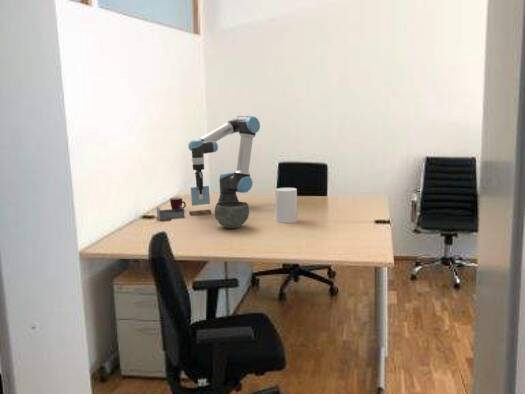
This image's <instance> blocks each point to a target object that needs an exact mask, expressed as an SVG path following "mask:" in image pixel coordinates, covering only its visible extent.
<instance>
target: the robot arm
mask: <svg viewBox="0 0 525 394" xmlns="http://www.w3.org/2000/svg"><path fill="white" fill-rule="evenodd" d="M260 129H261V124H260V120H259V119H258V118H257V117H256V116H254V115H253V116H252V115H238V116H237V115H236V116H235V117H232V118H231V119H229V120H227V121H225V122H224V123H223V125H221V126H219V127H217V128H216V129H214V130H212V131H210V132H209V133H207V134H204V135H203V136H201V137H200V138H198V139H194V140H191V141H189V143H188V145H187V146H188V150H189V151H190V152H191V157H192V158H191V161H192V170H193V171H195V172H194V174H195V185H196V186H195V187H198V194H199V199H203V191H202V189H203V186H204V175H203V172H202V171H203V170H205V160H204V159H205V158H204V155H205V154H211V153H212V154H213V153H216V152H217V151H218V149H219V145H218V141H219V140H221V139H223V138H225V137H227V136H228V135H233V134H237V133H238V135H239V136H240V141H239V149H238V155H237V164H236V170H235V171H234V172H227V173H220V175H219V198H218V201H217V203H218V202H222V201H239V199H238V195H237V193H244V194H245V193H248V192H250V190H251V189H252V187H253V183H254V182H253V179H252V177H251V174H250V163H251V155H252V148H253V142H254V140H253V139H254V138H255V137H256V134H257V133H258V132H259V131H260ZM239 202H240V201H239Z"/></svg>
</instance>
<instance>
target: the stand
mask: <svg viewBox="0 0 525 394" xmlns="http://www.w3.org/2000/svg"><path fill="white" fill-rule="evenodd" d="M188 214H189V215H190V217H192V216H193V217H194V216H195V217H196V216H206V215H212V210H211V209H199V210H198V209H197V210H190V211H189V212H188Z"/></svg>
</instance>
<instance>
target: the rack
mask: <svg viewBox="0 0 525 394" xmlns="http://www.w3.org/2000/svg"><path fill="white" fill-rule="evenodd" d="M183 207H184V206H183V205H182V206H181V205H179V209H172V208H171V209H163V210H162V209H161V208H160V207H159V206H156V217H157V219H158V221H160V222H164V221H166V222H167V221H172V219H181V218H185V208H183Z"/></svg>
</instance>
